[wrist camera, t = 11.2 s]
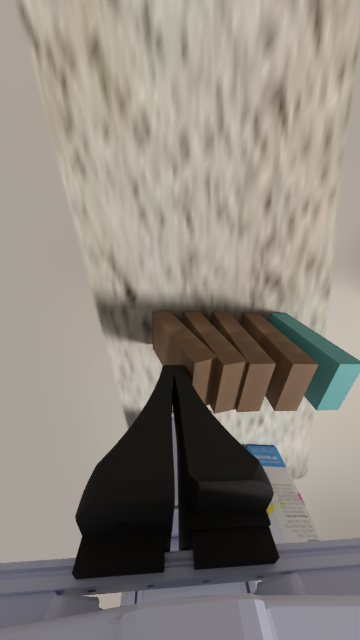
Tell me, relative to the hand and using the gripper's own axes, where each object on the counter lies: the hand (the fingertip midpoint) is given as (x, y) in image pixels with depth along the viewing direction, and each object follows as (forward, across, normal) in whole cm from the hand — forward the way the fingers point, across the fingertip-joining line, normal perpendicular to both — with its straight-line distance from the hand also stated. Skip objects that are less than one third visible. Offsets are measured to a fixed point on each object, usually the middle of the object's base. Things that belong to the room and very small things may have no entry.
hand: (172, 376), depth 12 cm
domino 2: (+7, -2, 0) cm, 7 cm away
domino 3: (+7, -5, 0) cm, 8 cm away
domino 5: (+7, -11, 0) cm, 13 cm away
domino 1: (+7, +1, 0) cm, 7 cm away
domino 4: (+7, -8, 0) cm, 10 cm away
